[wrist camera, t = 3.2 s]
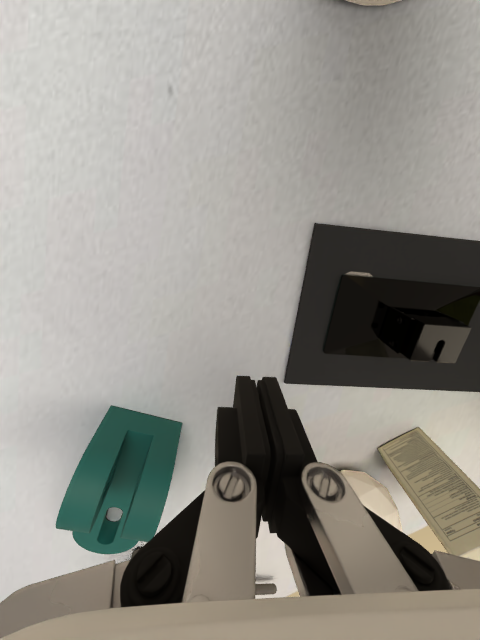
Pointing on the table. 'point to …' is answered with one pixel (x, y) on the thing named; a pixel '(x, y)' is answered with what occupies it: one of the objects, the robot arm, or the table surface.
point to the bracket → (121, 481)
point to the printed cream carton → (437, 491)
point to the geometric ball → (373, 496)
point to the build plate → (400, 318)
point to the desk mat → (386, 262)
